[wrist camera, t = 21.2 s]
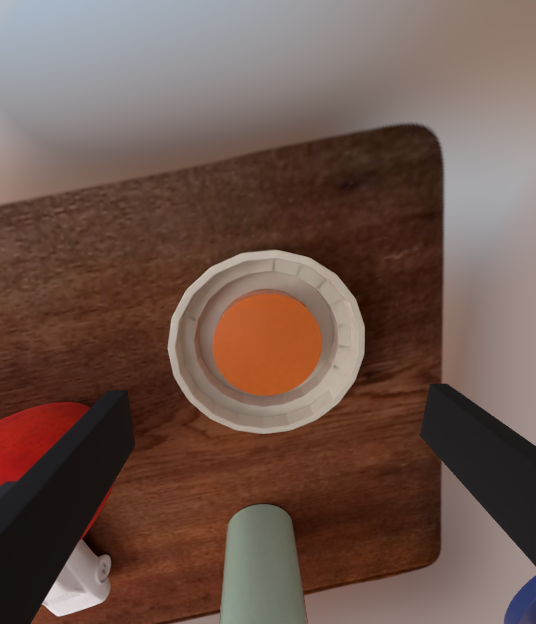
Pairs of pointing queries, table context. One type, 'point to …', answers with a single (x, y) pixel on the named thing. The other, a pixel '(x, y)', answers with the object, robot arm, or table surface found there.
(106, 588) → the toy car
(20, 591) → the robot arm
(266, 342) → the lid
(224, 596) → the jar
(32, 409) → the apple
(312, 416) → the dish
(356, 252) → the table surface
